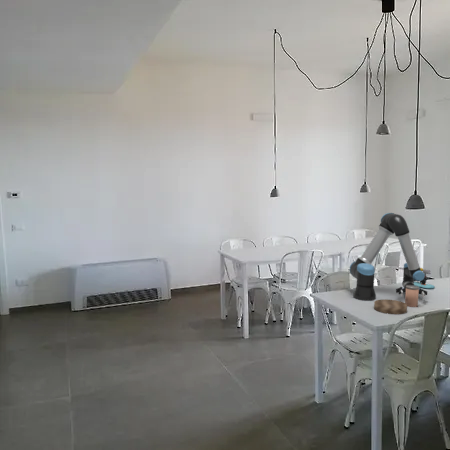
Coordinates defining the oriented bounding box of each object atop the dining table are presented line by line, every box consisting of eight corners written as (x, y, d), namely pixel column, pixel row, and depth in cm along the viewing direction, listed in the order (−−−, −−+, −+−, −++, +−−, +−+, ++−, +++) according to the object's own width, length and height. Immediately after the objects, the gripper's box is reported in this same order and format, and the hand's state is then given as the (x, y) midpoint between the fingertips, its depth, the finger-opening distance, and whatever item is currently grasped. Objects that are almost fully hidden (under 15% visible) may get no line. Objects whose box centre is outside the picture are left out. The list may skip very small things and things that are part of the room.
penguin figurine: (436, 288, 369) (437, 268, 367) (430, 290, 362) (431, 270, 360) (411, 283, 384) (412, 264, 382) (405, 285, 377) (406, 266, 375)
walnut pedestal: (374, 312, 303) (374, 306, 303) (373, 304, 323) (374, 298, 322) (408, 315, 298) (408, 309, 298) (405, 306, 317) (405, 300, 317)
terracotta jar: (405, 306, 318) (406, 287, 316) (404, 303, 326) (405, 284, 324) (418, 307, 316) (419, 288, 314) (417, 304, 324) (418, 285, 322)
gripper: (428, 294, 340) (432, 301, 320) (390, 291, 347) (392, 298, 327) (428, 283, 340) (433, 290, 319) (391, 281, 346) (393, 288, 326)
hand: (412, 294), depth 323 cm, fingers open, 13 cm apart
